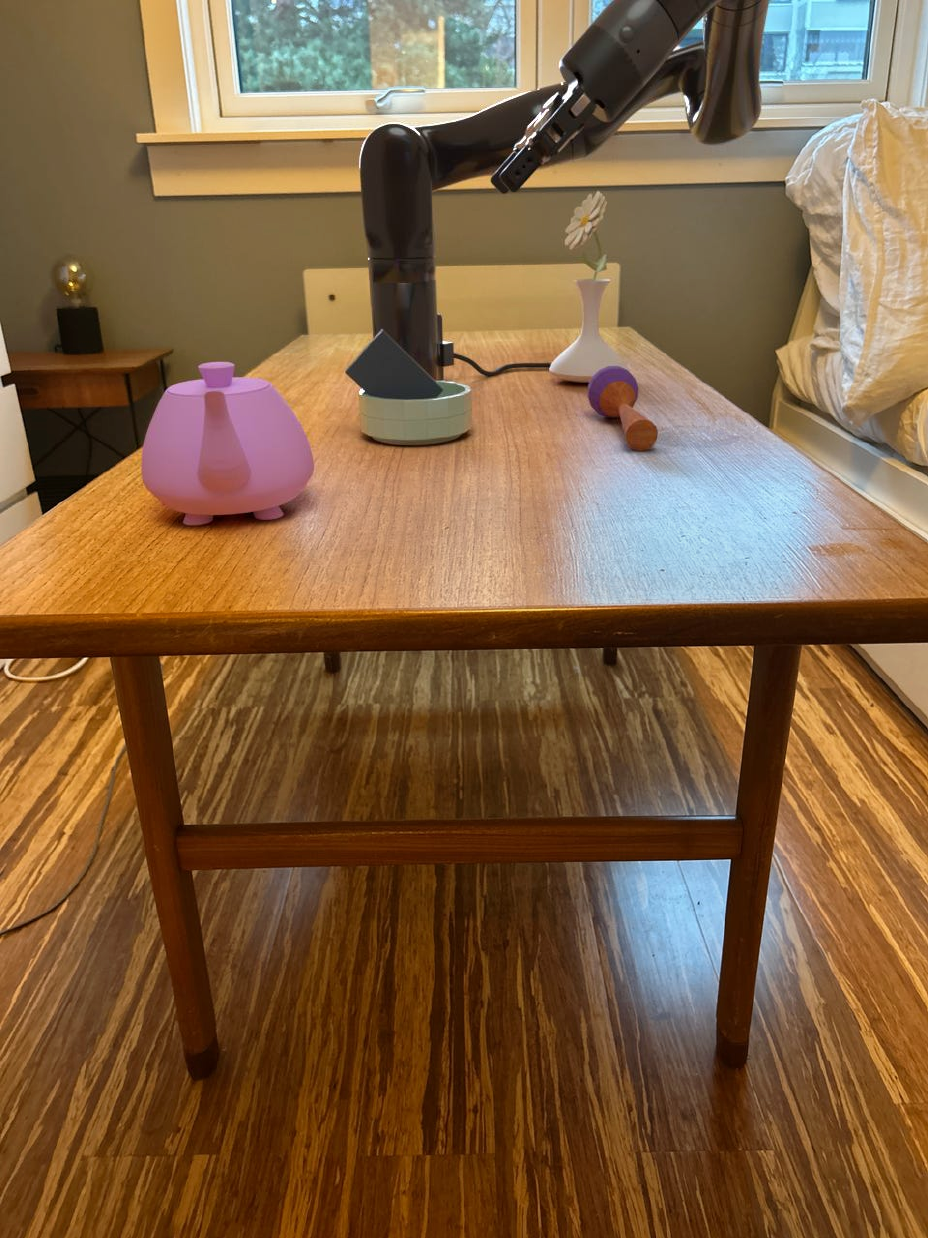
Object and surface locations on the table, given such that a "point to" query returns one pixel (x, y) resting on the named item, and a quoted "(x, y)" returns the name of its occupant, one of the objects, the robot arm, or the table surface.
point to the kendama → (621, 405)
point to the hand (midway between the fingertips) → (500, 186)
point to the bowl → (418, 416)
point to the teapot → (225, 448)
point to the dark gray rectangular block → (391, 372)
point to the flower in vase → (587, 303)
